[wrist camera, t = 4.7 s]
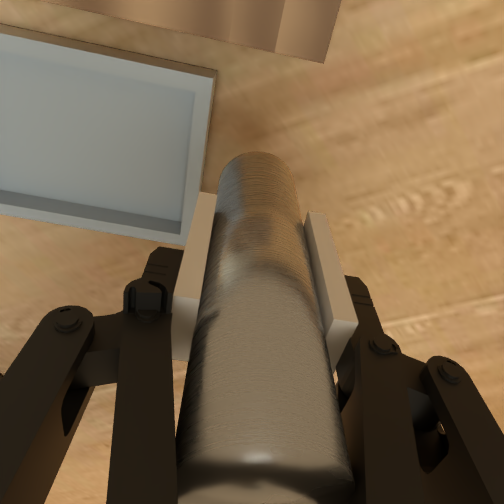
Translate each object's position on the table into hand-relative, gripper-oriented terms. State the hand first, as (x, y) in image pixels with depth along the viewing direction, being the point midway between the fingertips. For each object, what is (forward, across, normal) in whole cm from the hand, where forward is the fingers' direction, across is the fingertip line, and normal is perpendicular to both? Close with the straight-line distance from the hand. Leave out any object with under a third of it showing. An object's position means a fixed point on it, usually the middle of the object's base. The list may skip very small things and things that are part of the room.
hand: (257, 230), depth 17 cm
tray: (+14, -12, -3) cm, 19 cm away
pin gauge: (+4, 0, 0) cm, 4 cm away
